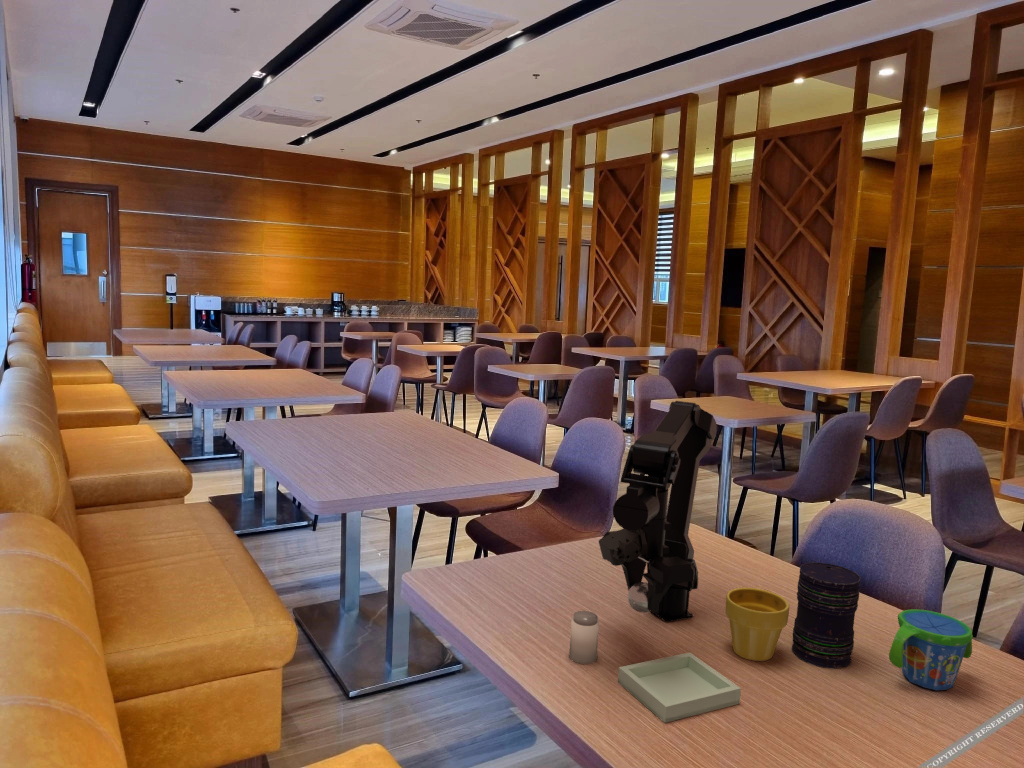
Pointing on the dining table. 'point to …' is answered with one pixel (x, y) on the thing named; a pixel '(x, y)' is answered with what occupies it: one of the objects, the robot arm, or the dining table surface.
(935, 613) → the snack cup
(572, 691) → the dining table surface
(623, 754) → the dining table surface
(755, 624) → the plant pot
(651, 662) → the tray
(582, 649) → the shaker
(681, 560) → the robot arm
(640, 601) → the ball
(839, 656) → the storage jar
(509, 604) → the dining table surface
